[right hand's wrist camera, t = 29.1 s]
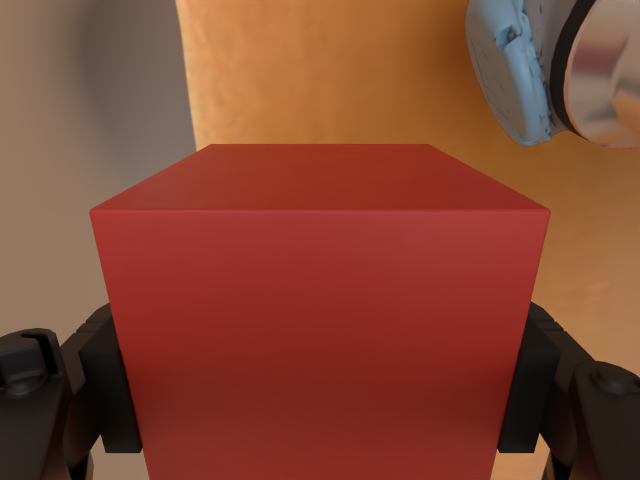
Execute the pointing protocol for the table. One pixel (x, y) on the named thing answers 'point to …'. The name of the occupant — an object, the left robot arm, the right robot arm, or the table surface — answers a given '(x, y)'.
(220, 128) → the table surface
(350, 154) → the block
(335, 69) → the table surface
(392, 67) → the table surface
